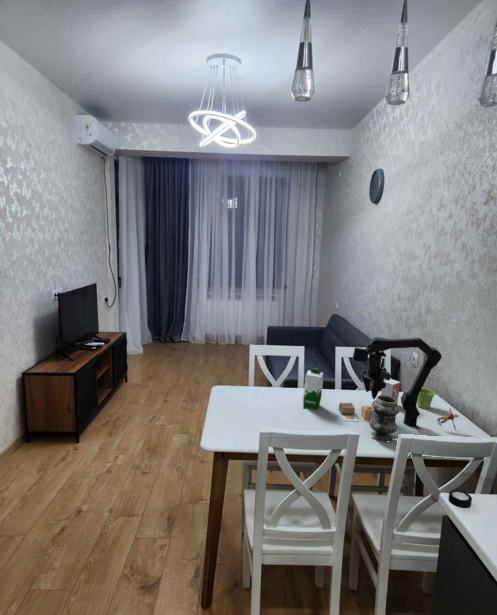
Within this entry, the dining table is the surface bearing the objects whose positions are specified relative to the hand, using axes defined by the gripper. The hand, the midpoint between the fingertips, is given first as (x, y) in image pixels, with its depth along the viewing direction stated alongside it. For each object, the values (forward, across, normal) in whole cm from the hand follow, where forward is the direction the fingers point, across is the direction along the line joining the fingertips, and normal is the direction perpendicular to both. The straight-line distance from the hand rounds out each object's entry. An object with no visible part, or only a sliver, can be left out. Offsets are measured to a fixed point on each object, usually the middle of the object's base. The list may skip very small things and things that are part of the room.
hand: (370, 395), depth 202 cm
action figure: (+12, -8, -35) cm, 38 cm away
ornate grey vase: (+12, -19, 0) cm, 22 cm away
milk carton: (+12, +11, +25) cm, 30 cm away
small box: (+12, +20, -18) cm, 30 cm away
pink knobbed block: (+11, -1, 0) cm, 11 cm away
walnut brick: (+11, +4, +9) cm, 15 cm away
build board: (+12, +2, +5) cm, 13 cm away
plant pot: (+12, +19, -38) cm, 44 cm away
